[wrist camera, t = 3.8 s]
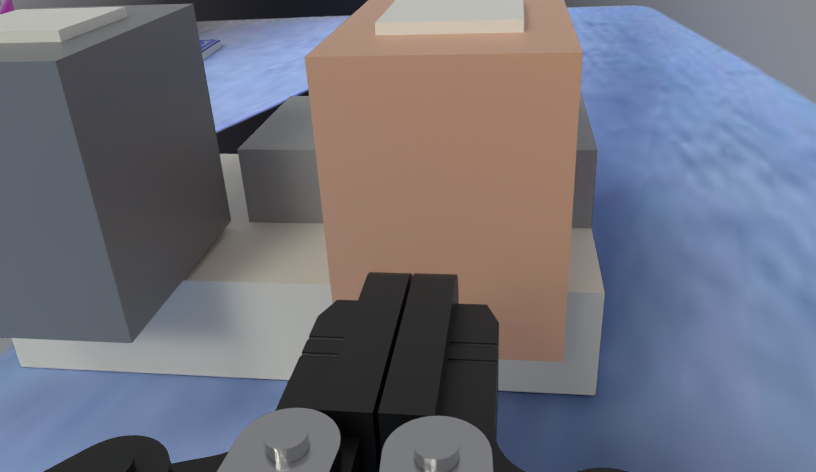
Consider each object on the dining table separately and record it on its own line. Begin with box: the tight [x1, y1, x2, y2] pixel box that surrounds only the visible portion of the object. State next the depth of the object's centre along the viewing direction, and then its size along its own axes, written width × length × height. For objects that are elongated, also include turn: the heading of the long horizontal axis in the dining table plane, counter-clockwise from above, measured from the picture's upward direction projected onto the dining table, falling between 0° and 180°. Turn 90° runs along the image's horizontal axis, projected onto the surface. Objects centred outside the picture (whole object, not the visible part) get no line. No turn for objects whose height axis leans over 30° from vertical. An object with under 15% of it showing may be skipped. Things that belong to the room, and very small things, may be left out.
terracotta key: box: [305, 0, 583, 362], centre depth 21 cm, size 6×8×8 cm
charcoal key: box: [0, 4, 231, 343], centre depth 22 cm, size 6×8×8 cm
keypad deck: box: [11, 94, 605, 395], centre depth 29 cm, size 21×12×7 cm, turn 82°
